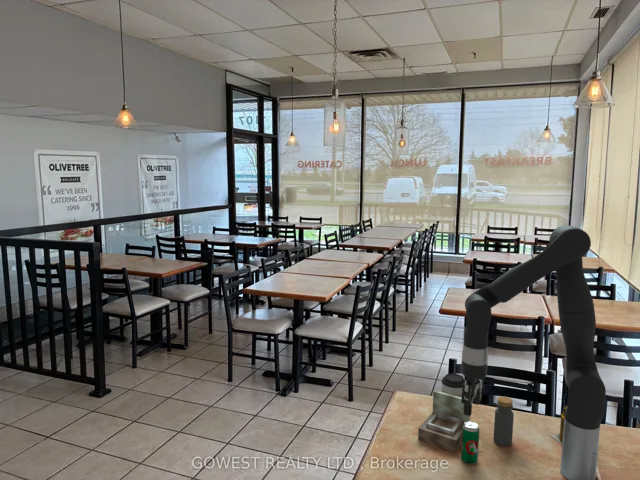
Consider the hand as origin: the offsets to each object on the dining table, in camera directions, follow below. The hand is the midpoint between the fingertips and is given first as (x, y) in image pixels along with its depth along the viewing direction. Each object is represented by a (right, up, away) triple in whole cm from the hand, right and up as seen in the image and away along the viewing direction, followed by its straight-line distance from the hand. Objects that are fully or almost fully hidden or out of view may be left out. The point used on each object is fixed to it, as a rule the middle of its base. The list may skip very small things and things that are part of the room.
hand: (471, 409), depth 146 cm
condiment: (+37, -16, +13) cm, 42 cm away
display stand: (-4, -15, +16) cm, 22 cm away
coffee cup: (+3, -13, +31) cm, 33 cm away
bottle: (+15, -16, +13) cm, 25 cm away
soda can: (0, -17, +2) cm, 17 cm away
